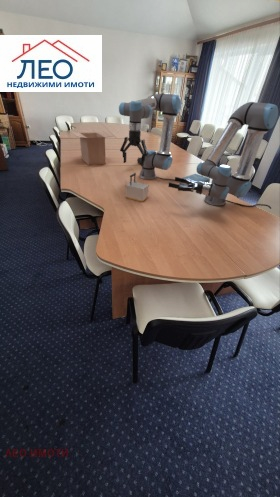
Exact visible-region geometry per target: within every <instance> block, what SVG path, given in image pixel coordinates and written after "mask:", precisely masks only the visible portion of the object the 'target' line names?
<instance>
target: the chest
mask: <svg viewBox="0 0 280 497" xmlns="http://www.w3.org/2000/svg"><path fill="white" fill-rule="evenodd" d="M148 196H149V186H148V187H147V188H145V189H144V190H141V189H136V188H132V187H128V186H126V185H125V198H126V199H129V200H133V201H137V202H141V203H144V202H145V200H147V199H148Z"/></svg>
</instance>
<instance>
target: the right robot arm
mask: <svg viewBox="0 0 280 497" xmlns="http://www.w3.org/2000/svg"><path fill="white" fill-rule="evenodd" d="M278 117H279V108H278V105H276V104H273V103H270V102H268V103H267V102H256V101H248V102H245V103H243V104H242V105H240V106H239V107H238V108H236V109H235V110H234V111H233V112H232V114H231V115H230V117H229V118H228V120H227V124H226V126H225V128H224V129H223V131H222V133H221V134H220V136H219V138H218V139H217V141H216V142H215V144H214V146H213V147H212V149H211V150H210V152H209V154H208V155H207V156H206V158H205V160H204V161H200V162H199V163H198V164H197V165H196V169H195V170H196V174H198V175H201V176H204V177H207V178H210V180H211V182H209V183H204V182H200V181H199V182H196V181H193V180H191V179H188V178H186V179H183V177H178V176H175V177H174V180H175V181H174V182H177V183H174V182H171V181H170V182H168V185H167V186H168V188H172V189H176V190H177V191H179V192H191V193H193V192H194V191H195V193H196V194H198V195H203V196H204V202H205V203H206V204H208V205H210V206H213V207H214V206H215V207H223V206H225V204H226V202H227V203H230V204H234V205H237V206H240V207H246V208H253V207H256V206H261V207H262V206H263V207H268V208H269V209H270V210H271V209H272V206H270V205H268V204H263V203H256V204H252V205H245V204H241V203H238V202H236V201H235V202H234V201H232V200H228V199H227V198H228V195H229V194H230V195H232V196H234V197H237V198H243V197H245V196H246V195H247V194H248V193H249V191H250V190H251V187H252V183H253V182H252V181H250V180H251V175H250V174H251V170H252V168H253V165H254V163H255V160H256V157H257V154H258V152H259V149H260V146H261V144H262V141H263V138H264V135H266V134H267V133H268V132H269V130H270V129H272V128H273V127H275V125H276V123H277V121H278ZM245 125H246V126H247V128H246V129H247V131H248V133H247V136H246V139H245V143H244V145H243V149H242V151H241V154H240V158H239V161H238V164H237V166H236V169H235V172H233V173H232V167H231V166H229V165H226V164H221V165H219V166H217V165H218V164H219V162H220V160H221V158H222V157H223V155H224V154H225V153H226V151H227V149H228V147H229V146H230V144H231V143H232V141H233V140H234V138H235V136H236V135H237V133H238V131H239V130H241V129H242V128H243V126H245ZM181 182H182V183H186V184H188V185H181V184H180V183H181Z"/></svg>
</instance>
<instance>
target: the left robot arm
mask: <svg viewBox="0 0 280 497" xmlns="http://www.w3.org/2000/svg"><path fill="white" fill-rule="evenodd" d="M182 106H183V105H182V98H181V96H180V95H179V94H175V93H172V94H171V93H156V94H152V95H148V96H147V97H146V98H143V99H138V100H131V101H130V102H121V103H119V105H118V113H119V114H120V116H124V117H129V122H128V123H129V124H128V136H125V137H124V140H123V143H122V144H121V147H120V149H119V151H120V152H121V153H122V158H123V164H126V163H127V151H128V150H129V148H130V147H132V146H134V147H137V148H138V150H139V152H140V153H141V157H142V159H141V164H140V166H141V169H140V172H139V178H140V179H142V180H146V181H154V180H156V179H160V180H165V181H173V182H176V181H175V179H173V178H163V177H159V176H157V174H156V169H160V170H163V171H167V170H169V169H170V168H171V166H172V164H173V156H172V153H171V151H170V150H171V143H172V137H173V133H174V132H173V131H174V124H175V120H176V118H177V117H178V115H179V114H180V113H181V110H182ZM153 111H156V112H162V114H161V115H162V117H163V118H162V119H163V120H162V127H161V136H160V143H159V150H153V149H151V150H150V149H149V150H148V149H147V146H146V140H145V139H141V134H142V133H141V132H142V131H141V130H142V119H149V118H150V117H151V116H152V115H153ZM142 155H143V156H142ZM248 193H251V190H249V191H248Z"/></svg>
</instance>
